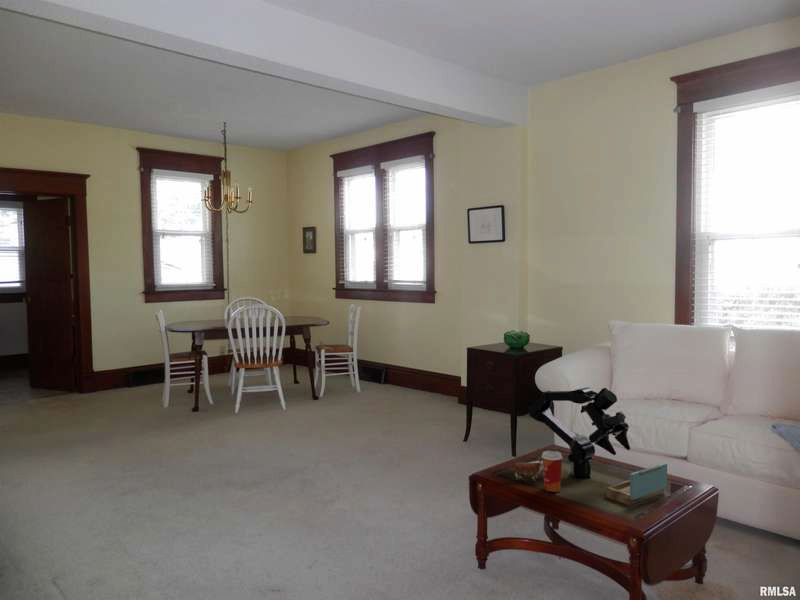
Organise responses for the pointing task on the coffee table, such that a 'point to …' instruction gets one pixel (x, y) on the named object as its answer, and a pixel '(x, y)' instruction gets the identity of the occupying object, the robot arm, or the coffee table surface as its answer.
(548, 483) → the paper cup
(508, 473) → the coffee table surface
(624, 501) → the tray
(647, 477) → the tailgate
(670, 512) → the coffee table surface
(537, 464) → the bull figurine
